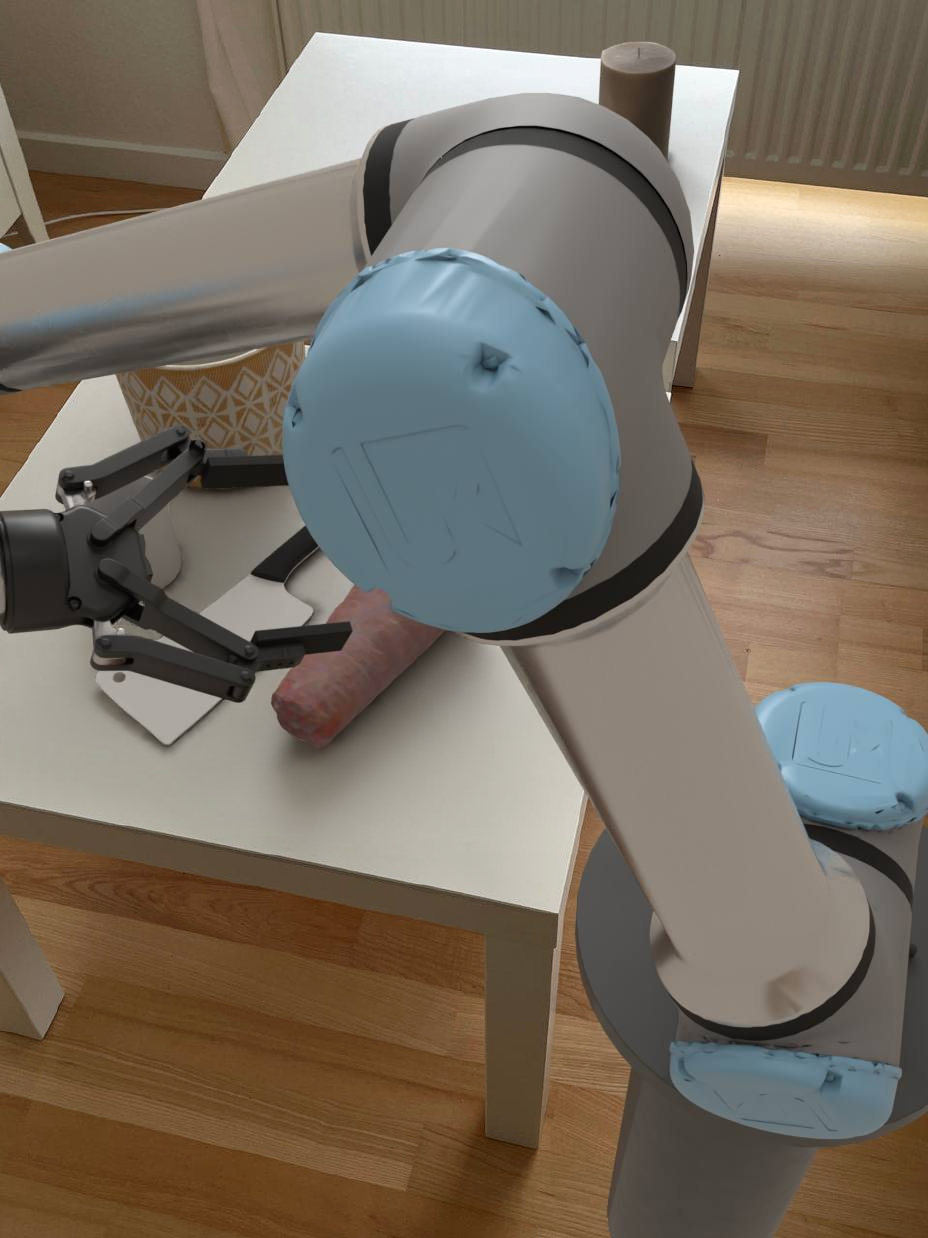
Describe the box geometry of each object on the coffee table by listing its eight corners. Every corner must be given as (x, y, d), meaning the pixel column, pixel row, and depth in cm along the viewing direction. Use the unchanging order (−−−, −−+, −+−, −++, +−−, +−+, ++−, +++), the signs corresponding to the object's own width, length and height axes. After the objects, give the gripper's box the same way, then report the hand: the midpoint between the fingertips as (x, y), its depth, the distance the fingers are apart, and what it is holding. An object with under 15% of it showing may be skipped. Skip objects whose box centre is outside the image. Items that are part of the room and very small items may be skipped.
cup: (199, 563, 119) (180, 493, 112) (119, 626, 113) (95, 557, 107) (147, 532, 122) (126, 462, 115) (68, 592, 116) (41, 523, 110)
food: (397, 577, 117) (391, 507, 110) (485, 613, 113) (484, 543, 107) (262, 736, 104) (246, 668, 98) (356, 782, 101) (346, 714, 95)
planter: (181, 374, 139) (149, 241, 126) (345, 398, 135) (329, 263, 123) (104, 487, 126) (61, 352, 114) (283, 517, 123) (257, 380, 110)
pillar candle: (659, 180, 164) (669, 66, 153) (587, 171, 166) (592, 58, 155) (674, 145, 170) (685, 33, 159) (604, 137, 172) (610, 26, 161)
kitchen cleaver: (165, 741, 103) (85, 675, 107) (168, 752, 105) (88, 687, 108) (410, 533, 119) (333, 482, 123) (409, 545, 121) (333, 494, 124)
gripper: (-39, 445, 84) (262, 438, 94) (21, 785, 74) (351, 736, 84) (-33, 372, 78) (288, 373, 88) (32, 731, 68) (387, 685, 78)
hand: (319, 550), depth 86 cm, fingers open, 13 cm apart
